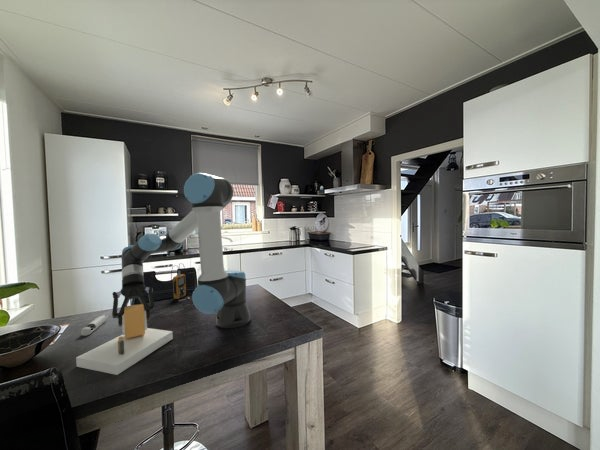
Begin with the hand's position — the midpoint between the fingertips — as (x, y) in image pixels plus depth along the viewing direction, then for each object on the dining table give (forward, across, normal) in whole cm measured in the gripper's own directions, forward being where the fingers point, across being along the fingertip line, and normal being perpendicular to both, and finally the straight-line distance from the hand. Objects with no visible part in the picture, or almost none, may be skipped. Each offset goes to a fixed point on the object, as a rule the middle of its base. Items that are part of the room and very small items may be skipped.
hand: (135, 330), depth 88 cm
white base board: (+6, +2, -3) cm, 7 cm away
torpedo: (-17, +14, -26) cm, 34 cm away
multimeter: (-30, -25, -39) cm, 55 cm away
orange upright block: (-1, 0, -4) cm, 4 cm away
